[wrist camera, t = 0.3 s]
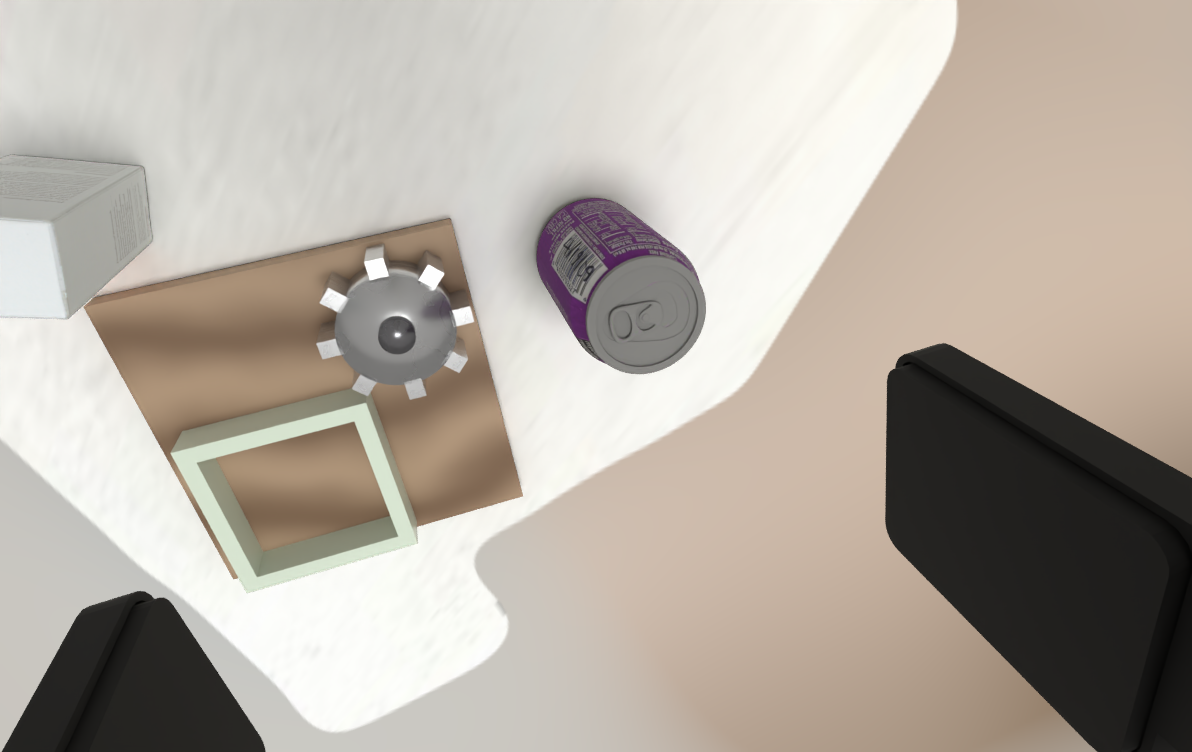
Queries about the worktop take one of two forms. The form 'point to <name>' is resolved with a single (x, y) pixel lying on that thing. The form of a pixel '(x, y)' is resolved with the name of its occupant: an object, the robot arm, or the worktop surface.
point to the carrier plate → (307, 391)
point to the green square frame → (271, 426)
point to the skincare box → (66, 231)
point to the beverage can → (621, 286)
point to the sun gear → (394, 322)
